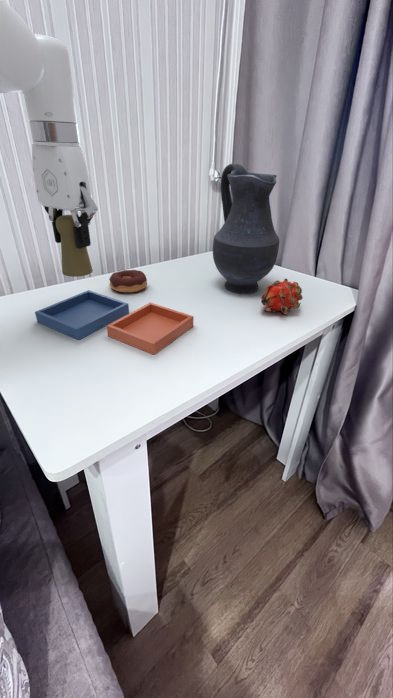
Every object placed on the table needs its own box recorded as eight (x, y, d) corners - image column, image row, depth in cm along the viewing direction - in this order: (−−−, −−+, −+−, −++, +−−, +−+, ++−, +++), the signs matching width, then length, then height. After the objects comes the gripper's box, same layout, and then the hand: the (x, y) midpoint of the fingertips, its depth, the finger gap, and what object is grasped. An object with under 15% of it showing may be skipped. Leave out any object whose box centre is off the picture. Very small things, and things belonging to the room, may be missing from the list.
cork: (55, 273, 67) (44, 216, 61) (75, 264, 72) (66, 211, 66) (80, 278, 66) (71, 220, 60) (98, 269, 70) (91, 214, 64)
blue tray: (78, 340, 66) (76, 329, 65) (37, 322, 72) (34, 311, 71) (129, 313, 77) (128, 303, 76) (89, 299, 83) (88, 289, 81)
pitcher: (233, 304, 83) (248, 170, 67) (192, 277, 98) (196, 162, 82) (284, 293, 91) (308, 169, 75) (239, 269, 106) (251, 162, 90)
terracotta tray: (153, 355, 63) (153, 344, 62) (107, 336, 68) (106, 325, 67) (193, 326, 73) (193, 316, 72) (150, 311, 78) (150, 302, 77)
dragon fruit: (299, 312, 85) (262, 328, 80) (282, 285, 87) (245, 299, 82) (318, 295, 77) (278, 312, 73) (298, 266, 79) (259, 281, 75)
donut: (102, 291, 87) (100, 276, 85) (120, 278, 95) (119, 265, 93) (137, 297, 85) (136, 282, 83) (152, 283, 93) (152, 270, 91)
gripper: (4, 133, 57) (29, 240, 67) (72, 137, 50) (89, 257, 59) (42, 134, 62) (60, 233, 72) (108, 138, 55) (118, 248, 65)
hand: (73, 243), depth 66 cm, fingers closed on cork, 5 cm apart
